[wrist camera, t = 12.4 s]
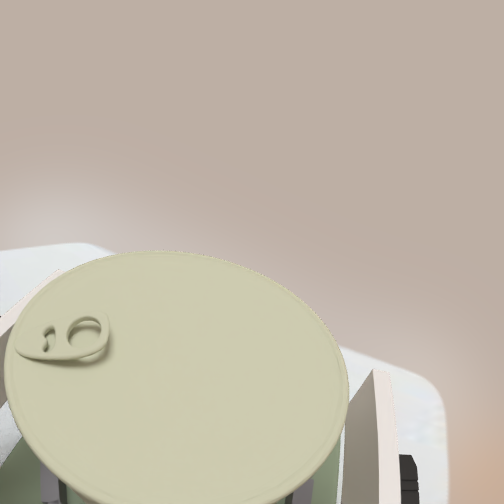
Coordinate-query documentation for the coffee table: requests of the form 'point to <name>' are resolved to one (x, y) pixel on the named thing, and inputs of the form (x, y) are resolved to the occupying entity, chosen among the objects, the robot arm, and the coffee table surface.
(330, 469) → the deck mount
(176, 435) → the can
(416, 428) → the coffee table surface
